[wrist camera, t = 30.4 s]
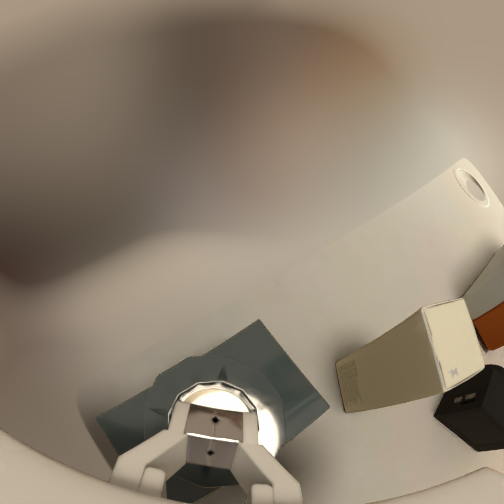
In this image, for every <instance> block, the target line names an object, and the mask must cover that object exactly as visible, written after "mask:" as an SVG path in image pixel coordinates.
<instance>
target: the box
mask: <svg viewBox="0 0 504 504" xmlns="http://www.w3.org/2000/svg"><path fill="white" fill-rule="evenodd" d="M484 367H485V365H484V360H483V357H482V353H481V349H480V345H479V342H478V338H477V335H476V332H475V329H474V325H473V322H472V320H471V317H470V314H469V311H468V309H467V306H466V303H465V301H464V299H463V298H459V299H455V300H449V301H445V302H440V303H436V304H432V305H428V306H425V307H421V308H420V309H419V310H418V311H416V312H415V313H414V314H412V315H411V316H410V317H408V318H407V319H406V320H404V321H403V322H401V323H400V324H398V325H397V326H395V327H394V328H392V329H391V330H389V331H388V332H386V333H384V334H383V335H381V336H380V337H378V338H377V339H375V340H373V341H372V342H370V343H369V344H367V345H365V346H364V347H362V348H360V349H359V350H357V351H355V352H353V353H352V354H350V355H348V356H346V357H345V358H343V359H341V360H339V361H338V362H336V369H337V374H338V379H339V384H340V388H341V393H342V398H343V402H344V407H345V411H346V413H353V412H360V411H367V410H372V409H378V408H383V407H388V406H393V405H397V404H401V403H406V402H410V401H414V400H418V399H421V398H425V397H429V396H433V395H437V394H440V393H444V392H446V391H449V390H450V389H452V388H454V387H456V386H458V385H459V384H461V383H463V382H465V381H466V380H468V379H470V378H471V377H473V376H474V375H476V374H477V373H478V372H480V371H481V370H483V369H484Z"/></svg>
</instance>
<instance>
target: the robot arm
mask: <svg viewBox="0 0 504 504" xmlns="http://www.w3.org/2000/svg"><path fill="white" fill-rule="evenodd" d="M186 463H190V464H197V465H203V466H210V467H216V468H222V469H229V470H230V471H231V472H232V474H233V475H234V477H235V478H236V480H237V482H238V483H239V485H240V486H241V488H242V489H243V490H244V492H245V493H246V495H247V498H246V500H245V502H244V504H303V498H302V492H301V486H300V483H299V482H298V481H297V480H296V479H295V478H294V477H293V476H292V475H291V474H290V473H289V472H288V471H287V470H286V469H285V468H284V467H283V466H282V465H281V464H280V463H279V462H278V461H277V460H276V459H275V458H274V457H273V456H272V454H271V453H270V452H269V451H268V450H267V449H266V448H265V447H264V446H263V445H260V444H259V442H258V423H257V414H256V413H251V412H241V411H233V410H226V409H219V408H212V407H207V406H202V405H197V404H193V403H187V402H182V401H178V400H177V402H176V404H175V407H174V411H173V414H172V417H171V421H170V424H169V428H168V430H165V429H164V430H162V431H160V432H159V433H157V434H156V435H154V436H152V437H151V438H149V439H148V440H146V441H144V442H143V443H141V444H139V445H138V446H136V447H134V448H133V449H131V450H129V451H127V452H126V453H124V454H122V455H120V456H119V457H118V459H117V462H116V464H115V467H114V469H113V472H112V474H111V476H110V479H109V481H108V482H107V481H104V480H101V479H98V478H96V477H93V476H90V475H88V474H86V473H83V472H81V471H78V470H76V469H74V468H72V467H69V466H67V465H65V464H63V463H61V462H59V461H57V460H54V459H52V458H51V457H49V456H46V455H45V454H43V453H41V452H39V451H37V450H35V449H34V448H32V447H30V446H28V445H27V444H25V443H23V442H21V441H20V440H18V439H17V438H15V437H13V436H12V435H10V434H8V433H7V432H6V431H4V430H2V429H1V428H0V504H190V503H185V502H179V501H174V500H170V499H167V492H166V481H167V480H168V479H169V478H170V477H171V476H172V475H174V474H175V473H176V472H177V471H178V470H179V469H180V468H182V467H183V466H184V465H185V464H186ZM367 504H504V474H502V473H500V472H498V471H496V470H494V469H491V468H488V467H484V468H480V469H478V470H476V471H473V472H471V473H469V474H466V475H464V476H462V477H459V478H456V479H454V480H451V481H449V482H446V483H443V484H440V485H437V486H434V487H431V488H428V489H425V490H422V491H418V492H415V493H411V494H407V495H404V496H400V497H396V498H391V499H387V500H382V501H377V502H372V503H367Z"/></svg>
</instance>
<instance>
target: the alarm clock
mask: <svg viewBox="0 0 504 504" xmlns="http://www.w3.org/2000/svg"><path fill="white" fill-rule="evenodd" d="M463 299H464V301H465V303H466V306H467V309H468V311H469V314H470V317H471V320H472V319H473V321H472V322H473V323H474V325H475V327H476V328H477V330H478V332H479V334H480V336H481V337H482V339H483V341H484V343H485V345H486V347H487V348H488V349H489V350H495V349H497V348H499V347H502V346H504V245H503V246H502V247H501V248H500V249H499V250H498V251H497V252H496V253H495V255H494V256H493V258H492V259H491V260H490V262H489V263H488V265H487V266H486V267H485V269H484V270H483V272H482V273H481V274H480V276H479V277H478V278H477V279H476V281H475V282H474V283H473V284H472V286H471V287H470V288H469V290H468V291H467V292H466V293H465V295H464V296H463Z"/></svg>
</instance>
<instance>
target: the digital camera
mask: <svg viewBox="0 0 504 504" xmlns="http://www.w3.org/2000/svg"><path fill="white" fill-rule="evenodd" d="M434 417H436V418H437V419H438V420H439V421H441V422H442V423H443V424H444V425H445V426H447V427H448V428H449V429H450V430H452V431H453V432H454V433H455V434H457V435H458V436H459V437H460V438H462V439H463V440H464V441H465V442H467V443H468V444H469V445H470V446H472V447H473V448H474V449H475V450H477V451H478V452H480V451H490V450H498V449H504V368H503V367H501V366H498V365H491V364H489V365H485V367H484V369H483V370H481V371H480V372H478V373H477V374H476V375H474V376H473V377H471V378H470V379H468V380H466V381H465V382H463V383H461V384H459V385H458V386H456V387H454V388H452V389H450V390H449V391H446V392H445V394H444V396H443V398H442V401H441V403H440V405H439V407H438V409H437V411H436V413H435V415H434Z"/></svg>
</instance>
